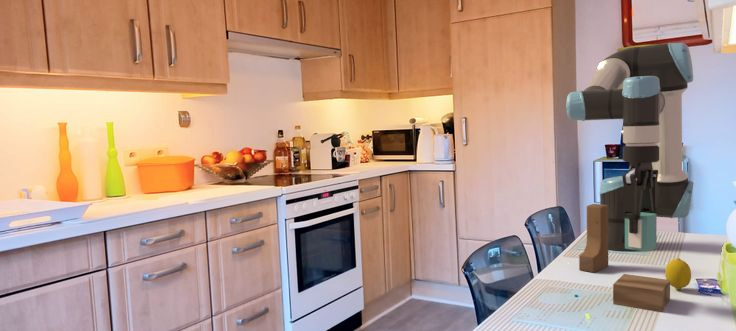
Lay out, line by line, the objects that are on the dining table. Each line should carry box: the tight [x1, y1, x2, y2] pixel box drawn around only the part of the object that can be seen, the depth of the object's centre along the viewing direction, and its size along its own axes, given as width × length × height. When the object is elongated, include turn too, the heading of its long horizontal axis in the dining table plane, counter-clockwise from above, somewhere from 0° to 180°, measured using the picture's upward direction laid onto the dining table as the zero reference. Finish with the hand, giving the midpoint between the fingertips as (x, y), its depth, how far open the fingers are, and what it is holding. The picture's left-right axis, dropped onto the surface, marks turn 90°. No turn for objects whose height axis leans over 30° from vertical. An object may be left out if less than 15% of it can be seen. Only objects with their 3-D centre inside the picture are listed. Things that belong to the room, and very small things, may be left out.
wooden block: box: [578, 203, 609, 273], centre depth 154 cm, size 9×4×18 cm, turn 131°
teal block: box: [625, 212, 658, 253], centre depth 125 cm, size 5×5×8 cm
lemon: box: [664, 257, 692, 291], centre depth 133 cm, size 6×6×8 cm
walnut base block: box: [612, 273, 671, 313], centre depth 126 cm, size 10×10×5 cm
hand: (640, 244), depth 126 cm, fingers closed on teal block, 5 cm apart
